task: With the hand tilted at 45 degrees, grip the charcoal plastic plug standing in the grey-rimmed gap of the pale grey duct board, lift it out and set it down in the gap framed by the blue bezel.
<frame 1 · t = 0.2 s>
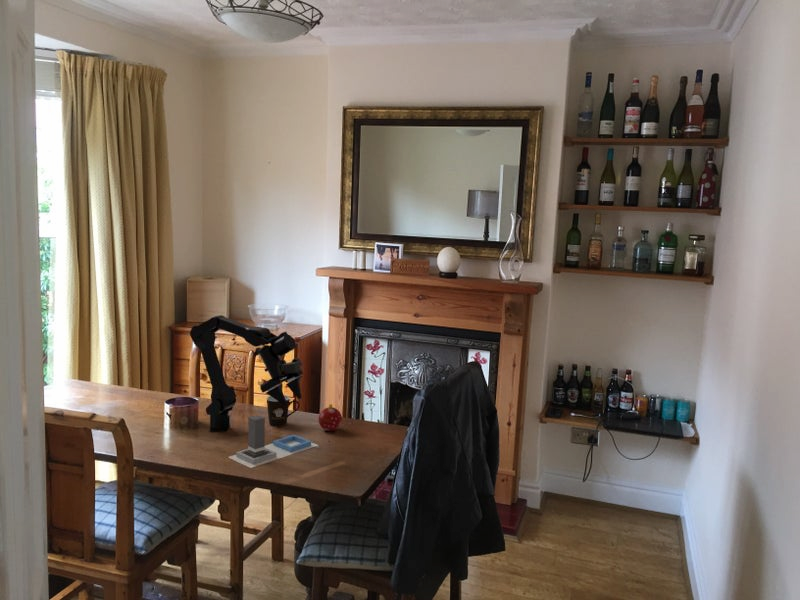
hand: (293, 402, 215), 15 cm above the table, tool tilted 35°, fingers open, 9 cm apart
plug: (256, 456, 201), point 1 cm above the table, touching duct board
duct board: (274, 453, 207), on the table
christmas ornament: (329, 430, 232), on the table
coffee mug: (281, 424, 237), on the table
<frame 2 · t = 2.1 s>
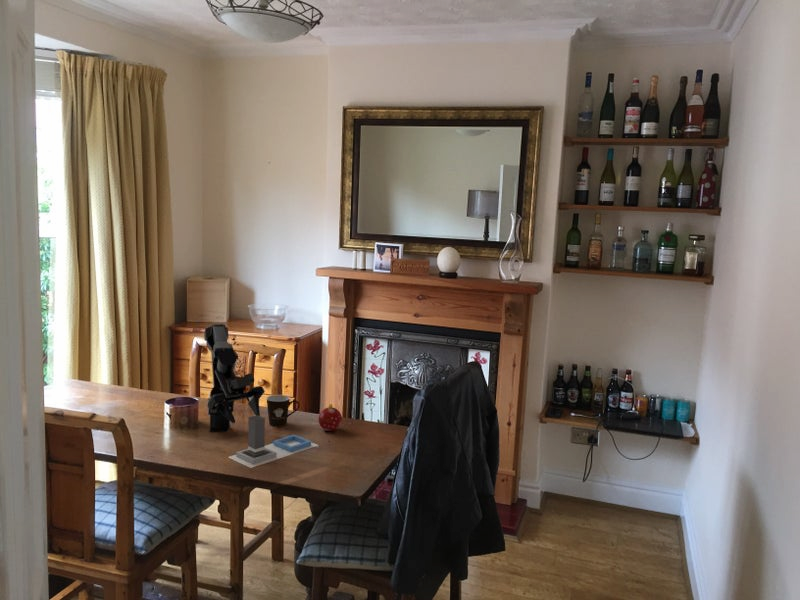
hand: (246, 419, 203), 12 cm above the table, tool tilted 45°, fingers open, 9 cm apart
nothing on the table moved.
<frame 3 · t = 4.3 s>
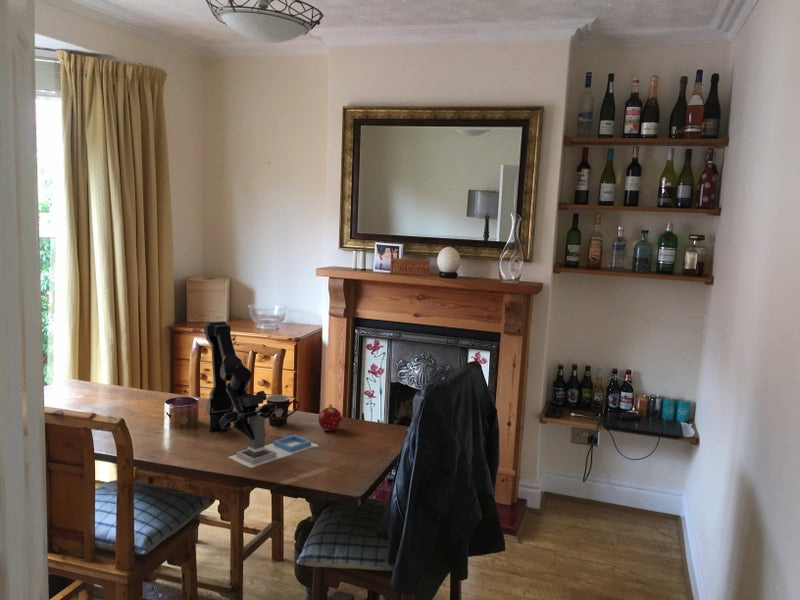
hand: (259, 438, 199), 8 cm above the table, tool tilted 45°, fingers closed on plug, 4 cm apart
plug: (256, 456, 201), point 1 cm above the table, touching duct board, gripper
everything else where it was.
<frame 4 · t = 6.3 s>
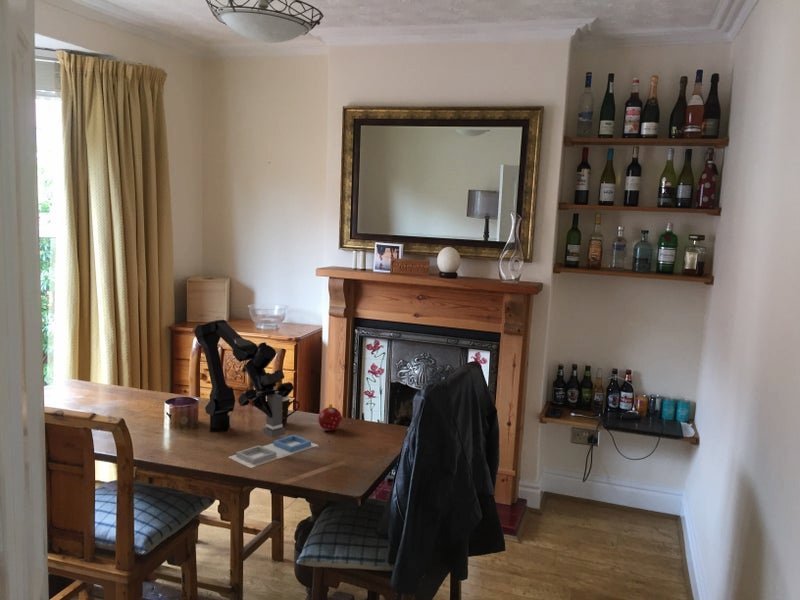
hand: (276, 415, 204), 13 cm above the table, tool tilted 45°, fingers closed on plug, 4 cm apart
plug: (274, 434, 206), point 7 cm above the table, touching gripper
everything else where it was.
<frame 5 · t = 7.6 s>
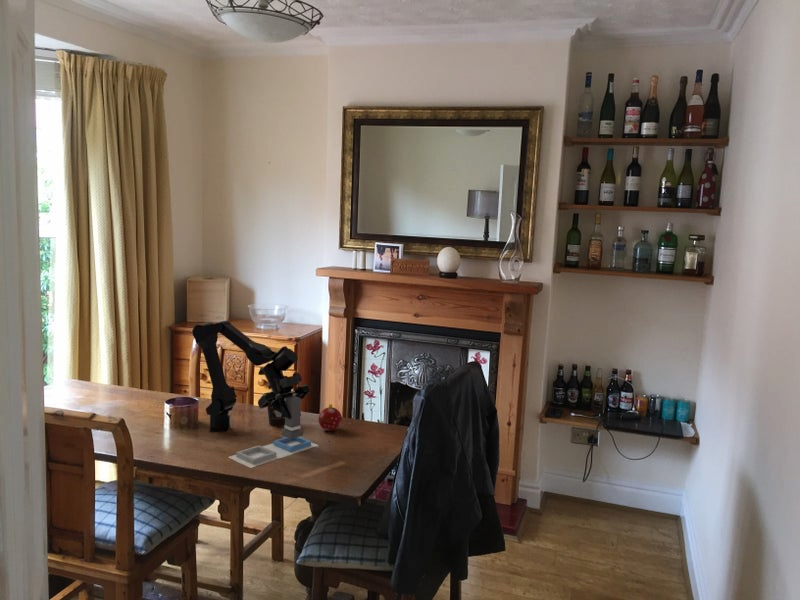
hand: (295, 417, 210), 11 cm above the table, tool tilted 45°, fingers closed on plug, 4 cm apart
plug: (292, 435, 212), point 5 cm above the table, touching gripper
everything else where it was.
when the fingers open (9 cm above the table, at t = 8.7 s): plug drops 2 cm, resting on duct board.
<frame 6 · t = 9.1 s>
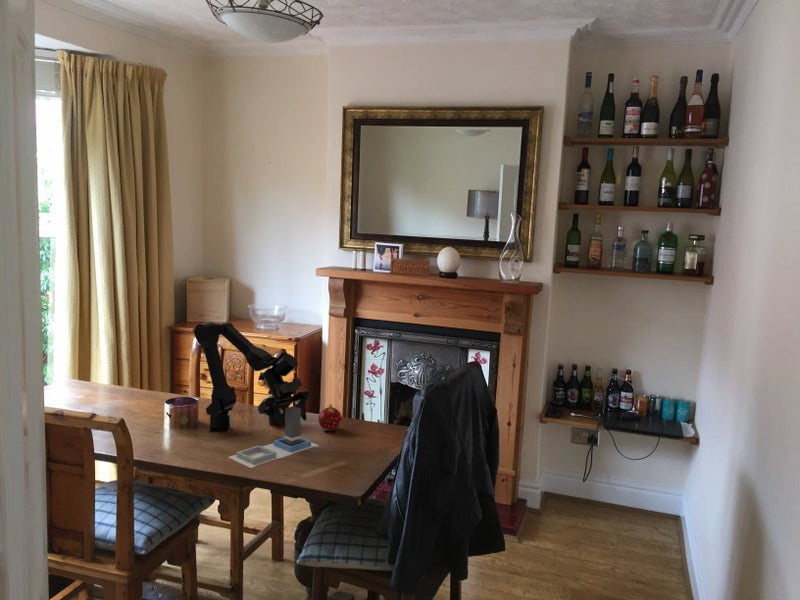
hand: (295, 422, 210), 9 cm above the table, tool tilted 45°, fingers open, 8 cm apart
plug: (292, 445, 212), point 1 cm above the table, touching duct board
everything else where it was.
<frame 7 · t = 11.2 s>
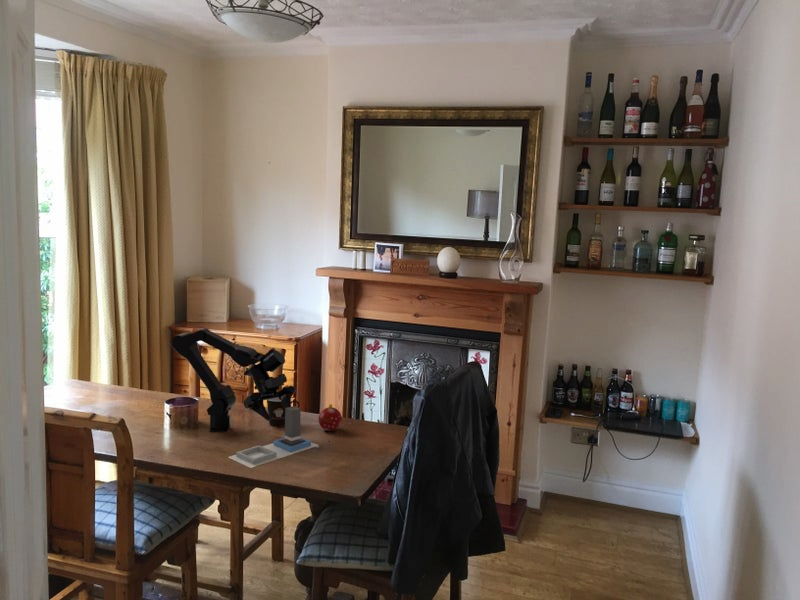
hand: (280, 417, 216), 9 cm above the table, tool tilted 45°, fingers open, 9 cm apart
nothing on the table moved.
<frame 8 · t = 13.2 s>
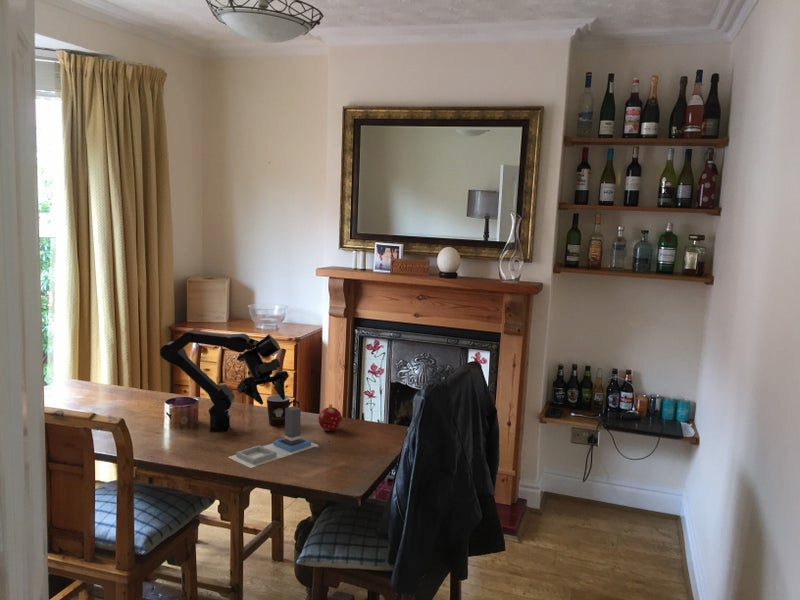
hand: (273, 401, 219), 14 cm above the table, tool tilted 45°, fingers open, 9 cm apart
nothing on the table moved.
at the end: plug 0.1 cm from the target spot, point 1.0 cm above the table; plug tilted 0°; the gripper is holding nothing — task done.
